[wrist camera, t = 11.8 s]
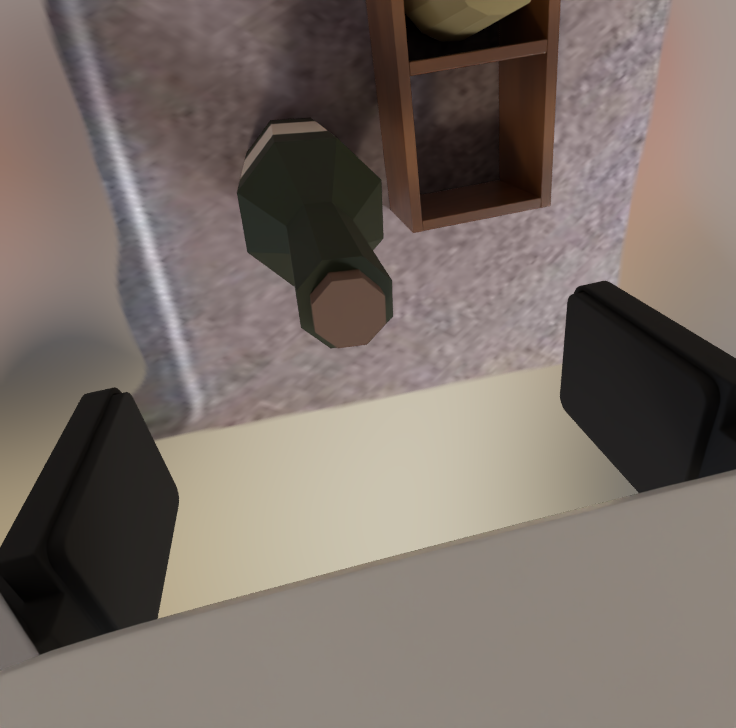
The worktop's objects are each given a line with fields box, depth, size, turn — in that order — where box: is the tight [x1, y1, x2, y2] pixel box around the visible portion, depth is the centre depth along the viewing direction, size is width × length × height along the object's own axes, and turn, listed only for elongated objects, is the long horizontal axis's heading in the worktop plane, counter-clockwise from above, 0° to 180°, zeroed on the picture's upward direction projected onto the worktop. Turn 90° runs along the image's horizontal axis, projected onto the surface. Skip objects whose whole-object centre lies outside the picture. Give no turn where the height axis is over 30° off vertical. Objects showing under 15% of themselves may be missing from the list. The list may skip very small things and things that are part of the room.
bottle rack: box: [366, 0, 561, 233], centre depth 36 cm, size 21×11×8 cm, turn 8°
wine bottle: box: [237, 118, 393, 348], centre depth 28 cm, size 8×8×30 cm
